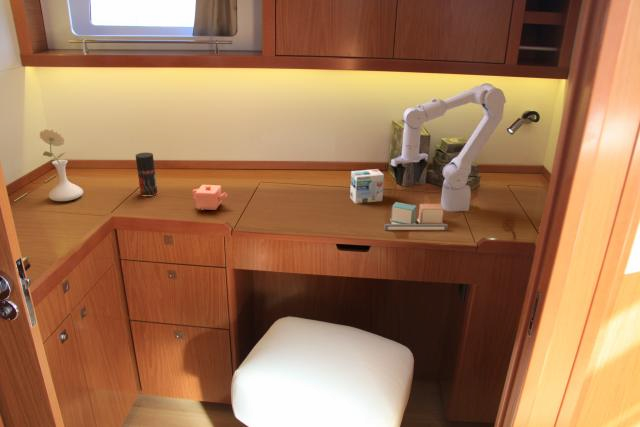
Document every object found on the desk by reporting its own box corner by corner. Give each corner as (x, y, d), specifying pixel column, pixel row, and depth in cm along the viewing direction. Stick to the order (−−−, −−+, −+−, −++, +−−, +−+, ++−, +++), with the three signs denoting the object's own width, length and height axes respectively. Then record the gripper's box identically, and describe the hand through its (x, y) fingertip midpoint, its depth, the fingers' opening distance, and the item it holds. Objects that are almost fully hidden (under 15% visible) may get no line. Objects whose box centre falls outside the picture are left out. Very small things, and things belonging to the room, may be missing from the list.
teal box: (414, 221, 170) (416, 205, 168) (411, 225, 167) (412, 210, 165) (394, 217, 173) (395, 202, 171) (390, 221, 170) (391, 206, 168)
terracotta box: (439, 219, 172) (441, 203, 170) (442, 224, 168) (444, 208, 166) (418, 219, 172) (419, 203, 170) (420, 224, 168) (422, 208, 166)
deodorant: (158, 195, 190) (153, 156, 184) (141, 197, 188) (136, 158, 182) (156, 190, 195) (152, 151, 189) (140, 192, 193) (135, 153, 187)
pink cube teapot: (225, 213, 176) (223, 190, 173) (191, 211, 177) (188, 189, 174) (230, 204, 183) (229, 182, 180) (197, 202, 184) (196, 181, 181)
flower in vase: (91, 195, 189) (79, 128, 179) (65, 206, 179) (51, 136, 169) (65, 189, 194) (52, 124, 184) (38, 200, 184) (23, 131, 174)
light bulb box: (355, 205, 184) (356, 176, 180) (349, 198, 190) (350, 170, 186) (383, 202, 187) (385, 174, 182) (376, 196, 193) (378, 168, 188)
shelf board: (434, 210, 180) (435, 204, 179) (447, 232, 165) (447, 225, 164) (377, 210, 180) (378, 204, 179) (384, 232, 164) (385, 225, 163)
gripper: (401, 150, 165) (398, 190, 171) (435, 144, 172) (431, 182, 178) (388, 145, 171) (385, 183, 176) (421, 139, 178) (417, 176, 183)
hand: (407, 182), depth 177 cm, fingers open, 7 cm apart
